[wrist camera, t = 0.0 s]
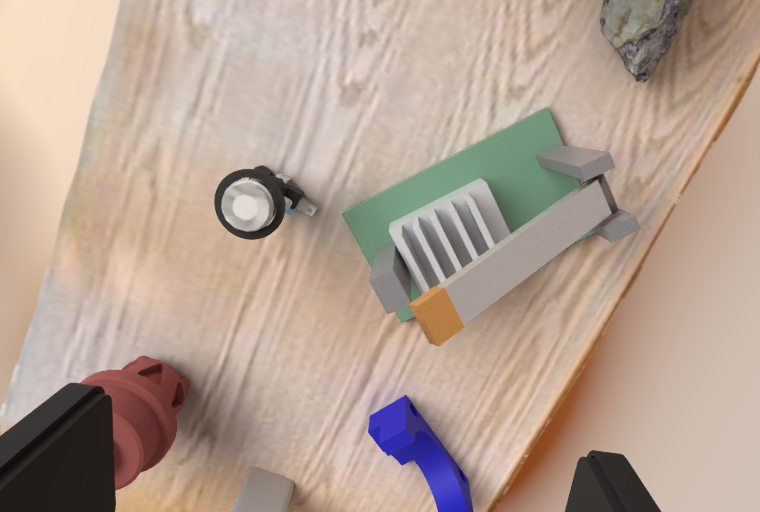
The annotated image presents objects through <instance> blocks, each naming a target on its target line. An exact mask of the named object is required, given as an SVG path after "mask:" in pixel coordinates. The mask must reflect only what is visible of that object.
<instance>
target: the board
mask: <svg viewBox="0 0 760 512" xmlns="http://www.w3.org/2000/svg"><path fill="white" fill-rule="evenodd" d="M614 167H615V165H614V162H613V160H612V157H611V155H610V153H609V152H602V151H596V150H590V149H583V148H577V147H570V146H564V144H563V142H562V140H561V137H560V135H559V133H558V130H557V128H556V126H555V123H554V121H553V119H552V116H551V114H550V111H549V109H548V107H546V108H543V109H541V110H539V111H537V112H535V113H533V114H531V115H529V116H527V117H526V118H524V119H522V120H520V121H518V122H516V123H514V124H512V125H510V126H508V127H506V128H504V129H502V130H500V131H498V132H496V133H495V134H493V135H491V136H489V137H487V138H485V139H483V140H481V141H479V142H477V143H475V144H473V145H471V146H469V147H467V148H465V149H463V150H462V151H460V152H458V153H456V154H454V155H452V156H450V157H448V158H446V159H444V160H442V161H440V162H438V163H436V164H434V165H432V166H431V167H429V168H427V169H425V170H423V171H421V172H419V173H417V174H415V175H413V176H411V177H409V178H407V179H405V180H403V181H401V182H399V183H398V184H396V185H394V186H392V187H390V188H388V189H386V190H384V191H382V192H380V193H378V194H376V195H374V196H372V197H370V198H368V199H367V200H365V201H363V202H361V203H359V204H357V205H355V206H353V207H351V208H349V209H347V210H345V211H343V213H342V215H343V216H344V218H345V220H346V222H347V224H348V226H349V227H350V229H351V231H352V233H353V235H354V237H355V238H356V240H357V242H358V244H359V246H360V248H361V249H362V251H363V253H364V255H365V257H366V259H367V260H368V262H369V264H370V266H371V268H372V271H371V276H370V280H369V281H370V283H371V285H372V287H373V289H374V290H375V292H376V294H377V296H378V298H379V300H380V301H381V303H382V305H383V307H384V309H385V310H386V312H387V314H390V313H392V312H394V311H395V312H396V314H397V316H398V317H399V319H400V321H401V323H402V322H404V321H406V320H409V319H411V318H413V317H415V316H414V314H413V312H412V310H411V308H410V306H409V304H410V303H412V302H413V301H414V300H416V299H417V298H419V297H420V296H421V295H423V294H424V293H426V292H427V291H429V290H430V289H431V288H433V287H434V286H438V285H439V284H440V283H442V282H443V281H445V280H446V279H448V278H449V277H450V276H452V275H453V274H455V273H456V272H458V271H459V270H460V269H462V268H463V267H465V266H466V265H468V264H469V263H470V262H472V261H473V260H475V259H476V258H478V257H479V256H480V255H482V254H483V253H485V252H486V251H487V250H489V249H490V248H492V247H493V246H495V245H496V244H497V243H499V242H500V241H502V240H503V239H505V238H506V237H507V236H509V235H510V234H512V233H513V232H515V231H516V230H517V229H519V228H520V227H522V226H523V225H525V224H526V223H527V222H529V221H530V220H532V219H533V218H534V217H536V216H537V215H539V214H540V213H542V212H543V211H544V210H546V209H547V208H549V207H550V206H552V205H553V204H554V203H556V202H557V201H559V200H560V199H562V198H563V197H564V196H566V195H567V194H569V193H570V192H571V191H573V190H574V189H576V188H577V187H579V186H580V182H579V180H578V179H581V180H584V181H587V180H589V179H591V178H593V177H595V176H597V175H599V174H601V173H603V172H605V171H607V170H610V169H612V168H614ZM637 230H640V226H639V224H638V222H637V219H636V217H635V216H634V215H632V214H630V213H627V212H625V211H622V210H620V209H618V212H617V213H615V214H614V215H611V216H608V217H607V218H606V219H604V220H603V221H602V222H600V223H599V224H598V225H596V226H595V227H594V228H592V229H591V230H590V231H588V232H587V233H586V234H584V235H583V236H582V237H580V238H579V239H578V240H576V241H575V242H577V241H579V240H581V239H583V238H586V237H588V236H590V235H592V234H594V233H596V234H598V235H600V236H602V237H603V238H605V239H607V240H608V241H610V242H613V241H616V240H618V239H620V238H622V237H624V236H627V235H629V234H631V233H633V232H635V231H637ZM575 242H574V243H575Z"/></svg>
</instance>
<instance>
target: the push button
mask: <svg viewBox="0 0 760 512" xmlns="http://www.w3.org/2000/svg"><path fill="white" fill-rule="evenodd" d="M270 172H271V170H270V169H268V168H267V167H265V166H262V165H261V166H258V167H255V168H254V169H243V170H238V171H235V172H233V173H231V174H229V175H228V176H226V177H225V178H224V179H223V180H222V181H221V183H220V184H219V186H218V188H217V190H216V193H215V201H214V203H215V210H216V214H217V216H218V218H219V220H220V222H221V223H222V225H223V226H224V227H225V228H226V229H227V230H228V231H229V232H231V233H232V234H234V235H236V236H238V237H240V238H243V239H250V240H254V239H260V238H264V237H266V236H268V235H270V234H271V233H272V232H274V231H275V230H276V229H277V228H278V227H279V225H280V224H281V222H282V220H283V217H284V214H285V212H286V213H287V214H292V213H293V212H294V211H296V210H298V211H300V212H301V211H303V212H304V213H306V214H308V215H310V216H313V214H315V212H316V210H317V207H316V206H314V205H312V204H311V203H309V202H308V200H307V199H305V198H303V196H304V192H303V191H302V190H300V189H298V188H294V187H291V186H290V185H288V184H286V183H287V181H289V180H291V179H290V178H289V177H287V176H286V175H284V174H282V173H279V174H277V175H276V177H275V176H272V175H271V174H270ZM245 177H250V178H249V180H247V179H243V180H240V181H238V180H239V179H241V178H245ZM309 208H310V209H311V211H310V210H309ZM274 216H275V217H274ZM273 217H274V219H273V221H272V222H271V224H270V225H268V226H266V225H267V224H268V223H269V221H270V220H271V219H272V218H273ZM265 226H266V227H265Z"/></svg>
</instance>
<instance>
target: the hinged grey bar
mask: <svg viewBox="0 0 760 512" xmlns="http://www.w3.org/2000/svg"><path fill="white" fill-rule="evenodd" d="M617 212H618V208H617V205H616V203H615V200H614V198H613V195H612V193H611V191H610V188H609V186H608V183H607V181H606V178H605V176H604V174H603V173H601V174H599V175H597V176H595V177H593V178H591V179H589V180H587V181H586V182H584V183H583V184H581V185H580V186H579V187H577V188H576V189H574V190H573V191H571V192H570V193H569V194H567V195H566V196H564V197H563V198H562V199H560V200H559V201H557V202H556V203H554V204H553V205H552V206H550V207H549V208H547V209H546V210H544V211H543V212H542V213H540V214H539V215H537V216H536V217H534V218H533V219H532V220H530V221H529V222H527V223H526V224H525V225H523V226H522V227H520V228H519V229H517V230H516V231H515V232H513V233H512V234H510V235H509V236H507V237H506V238H505V239H503V240H502V241H500V242H499V243H497V244H496V245H495V246H493V247H492V248H490V249H489V250H487V251H486V252H485V253H483V254H482V255H480V256H479V257H478V258H476V259H475V260H473V261H472V262H470V263H469V264H468V265H466V266H465V267H463V268H462V269H460V270H459V271H458V272H456V273H455V274H453V275H452V276H450V277H449V278H448V279H446V280H445V281H443V282H442V283H440V284H439V285H438V286H434V287H433V288H431V289H430V290H429V291H427V292H426V293H424V294H423V295H421V296H420V297H419V298H417V299H416V300H414V301H413V302H412V303H410V304H409V306H410V308H411V310H412V312H413V314H414V316H415V317H416V319H417V321H418V323H419V325H420V327H421V329H422V331H423V332H424V334H425V336H426V338H427V340H428V342H429V343H431V344H433V345H436V346H440V345H441V344H442V343H444V342H445V341H446V340H448V339H449V338H450V337H452V336H453V335H454V334H456V333H457V332H458V331H460V330H461V329H462V328H463V327H464V325H466V324H467V323H468V322H469V321H471V320H472V319H473V318H475V317H476V316H477V315H479V314H480V313H481V312H483V311H484V310H485V309H487V308H488V307H489V306H491V305H492V304H493V303H495V302H496V301H497V300H499V299H500V298H501V297H503V296H504V295H505V294H506V293H508V292H509V291H510V290H512V289H513V288H514V287H516V286H517V285H518V284H520V283H521V282H522V281H524V280H525V279H526V278H528V277H529V276H530V275H532V274H533V273H534V272H536V271H537V270H538V269H539V268H541V267H542V266H543V265H545V264H546V263H547V262H549V261H550V260H551V259H553V258H554V257H555V256H557V255H558V254H559V253H561V252H562V251H563V250H565V249H566V248H567V247H569V246H570V245H571V244H573V243H574V242H575V241H576V240H578V239H579V238H580V237H582V236H583V235H584V234H586V233H587V232H588V231H590V230H591V229H592V228H594V227H595V226H596V225H598V224H599V223H600V222H602V221H603V220H604V219H606V218H607V217H608V216H611V215H614V214H615V213H617Z"/></svg>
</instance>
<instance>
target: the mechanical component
mask: <svg viewBox="0 0 760 512" xmlns="http://www.w3.org/2000/svg"><path fill="white" fill-rule="evenodd" d="M80 384H88V385H95V386H101V387H102V388H103V389H104V391H105V394H106V395H109V396H110V397H111V398H112V410H113V439H114V468H115V490H118V489H121V488H123V487H125V486H127V485H129V484H130V483H132V482H133V481H134V480H135V479H136V478H137V476H138V475H139V474H140V472H143V471H146V470H148V469H150V468H152V467H154V466H155V465H156V464H158V463H159V462H160V461H161V460H162V459H163V457H164V456H165V455H166V453H167V452H168V450H169V449H170V448H171V446H172V444H173V442H174V440H175V437H176V432H177V420H176V414H177V412H178V411H179V410H180V408H181V407H182V405H183V403H184V399H185V392H186V390H187V389H188V388H189V385H190V384H189V381H188V380H187V379H186V378H185V377H182V376H179V375H178V374H177V373H176V372H175V370H173V369H172V368H171V367H170V366H168V365H167V364H165V363H163V362H161V361H158V360H154V359H149V358H147V357H145V356H140V357H138V358H137V359H136V360H135V361H133V362H130V363H129V364H127V365H126V366H125V367H124V368H123V369H122V370H107V371H101V372H98V373H95V374H93V375H91V376H89V377H87V378H86V379H85V380H83V381H82V382H81V383H80Z"/></svg>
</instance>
